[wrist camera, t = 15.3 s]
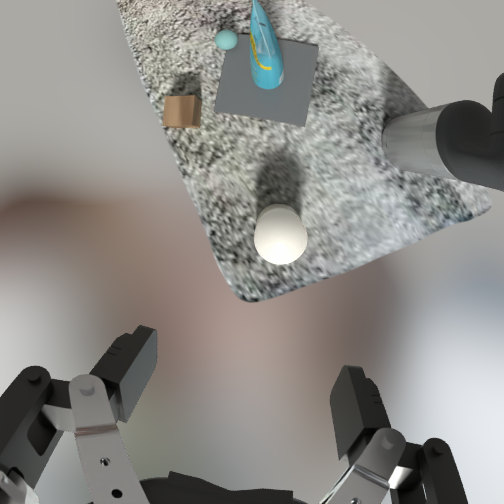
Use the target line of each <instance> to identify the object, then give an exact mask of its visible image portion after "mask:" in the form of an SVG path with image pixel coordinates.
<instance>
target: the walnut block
mask: <svg viewBox="0 0 504 504" xmlns="http://www.w3.org/2000/svg"><path fill="white" fill-rule="evenodd" d="M201 106H202V100H200V99H199V98H198V97H196V96H195V95H190V96H168V97H165V106H164V118H163V126H167V127H171V128H200V118H201Z"/></svg>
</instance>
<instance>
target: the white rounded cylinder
mask: <svg viewBox="0 0 504 504" xmlns="http://www.w3.org/2000/svg"><path fill="white" fill-rule="evenodd" d="M254 240H255V246H256V249H257V251H258V253H259V254H260V255H261V256H262V257H263V258H264V259H265V260H267V261H269V262H271V263H274V264H287V263H290V262H293V261H294V260H296V259H297V258H299V257H300V256H301V255H302V253H303V252H304V250H305V248H306V245H307V232H306V229H305V227H304V225H303V223H302V221H301V220H300V218H299V216H298V214H297V213H296V211H295V210H294V209H293V208H291V207H290V206H288V205H285V204H272V205H269V206H267V207H266V208H264V209H263V210H262V211H261V212H260V214H259V216H258V218H257V222H256V229H255V238H254Z"/></svg>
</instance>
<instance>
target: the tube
mask: <svg viewBox="0 0 504 504" xmlns="http://www.w3.org/2000/svg"><path fill="white" fill-rule="evenodd" d="M252 1H253V7H252V14H251V24H250V65H251V73H252V78H253V81H254V82H255V84H256V85H257V86H259V87H261V88H263V89H274V88H276V87H278V86H279V85H280V84H281V83H282V82H283V79H284V67H283V60H282V56H281V51H280V48H279V45H278V42H277V39H276V36H275V33H274V31H273V28H272V26H271V23H270V21H269V19H268V17H267V15H266V13H265V11H264V10H263V8H262V7H261V5H260V4H259V2H258V1H257V0H252Z"/></svg>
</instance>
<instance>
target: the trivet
mask: <svg viewBox="0 0 504 504" xmlns="http://www.w3.org/2000/svg"><path fill="white" fill-rule="evenodd" d="M237 37H238V42H237V44H236V46H235V47H234V48H232V49H229V50H227V51H226V55H225V59H224V64H223V68H222V73H221V78H220V82H219V87H218V92H217V97H216V102H215V107H214V112H218V113H226V114H233V115H241V116H247V117H254V118H260V119H266V120H271V121H277V122H282V123H287V124H292V125H297V126H302V127H305V124H306V118H307V113H308V107H309V102H310V96H311V91H312V85H313V79H314V73H315V68H316V62H317V56H318V50H319V47H317V46H312V45H307V44H303V43H298V42H292V41H287V40H281V39H277V42H278V45H279V48H280V51H281V56H282V60H283V67H284V79H283V82H282V83H281V84H280V85H279V86H278V87H276V88H274V89H263V88H261V87H259V86H257V85H256V84H255V82H254V81H253V78H252V73H251V65H250V35H242V34H237Z"/></svg>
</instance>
